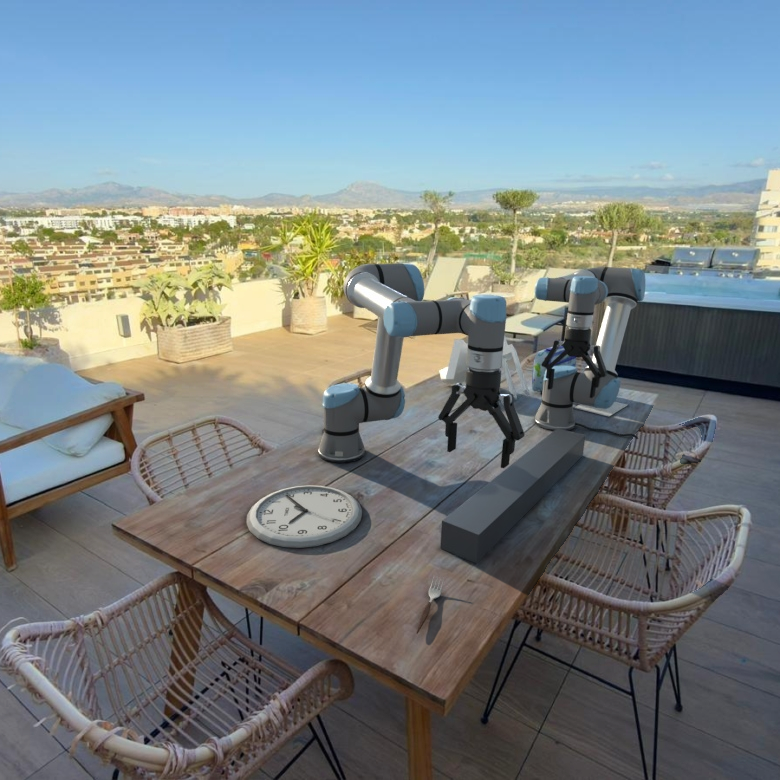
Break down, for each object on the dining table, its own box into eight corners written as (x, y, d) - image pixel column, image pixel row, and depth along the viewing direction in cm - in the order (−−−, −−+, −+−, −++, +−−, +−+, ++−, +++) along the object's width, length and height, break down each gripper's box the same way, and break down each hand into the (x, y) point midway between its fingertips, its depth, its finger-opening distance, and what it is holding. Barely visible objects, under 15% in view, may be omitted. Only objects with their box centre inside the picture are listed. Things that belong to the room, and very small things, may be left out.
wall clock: (364, 539, 124) (235, 543, 122) (364, 545, 125) (236, 550, 122) (360, 481, 153) (256, 483, 150) (360, 486, 153) (256, 488, 151)
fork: (410, 633, 98) (410, 625, 97) (432, 582, 112) (433, 574, 112) (423, 637, 97) (423, 628, 96) (444, 585, 111) (445, 577, 111)
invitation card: (608, 416, 214) (573, 407, 224) (608, 416, 214) (573, 408, 224) (628, 404, 229) (594, 396, 238) (628, 405, 229) (594, 397, 238)
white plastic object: (461, 429, 252) (437, 405, 227) (444, 352, 274) (420, 323, 250) (535, 404, 240) (518, 377, 215) (510, 326, 262) (492, 293, 237)
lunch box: (548, 398, 236) (553, 353, 229) (527, 393, 243) (531, 349, 237) (575, 387, 253) (581, 344, 247) (555, 382, 260) (560, 341, 254)
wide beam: (554, 448, 183) (557, 428, 180) (582, 455, 177) (585, 434, 175) (440, 548, 125) (441, 520, 122) (476, 563, 119) (478, 534, 117)
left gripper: (426, 361, 117) (422, 448, 124) (532, 382, 103) (522, 479, 109) (443, 355, 123) (439, 439, 129) (546, 374, 109) (536, 467, 115)
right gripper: (535, 324, 166) (529, 387, 173) (617, 334, 152) (607, 403, 158) (544, 321, 172) (537, 382, 178) (624, 330, 158) (614, 397, 164)
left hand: (477, 457), depth 119 cm, fingers open, 13 cm apart
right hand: (570, 392), depth 168 cm, fingers open, 13 cm apart
